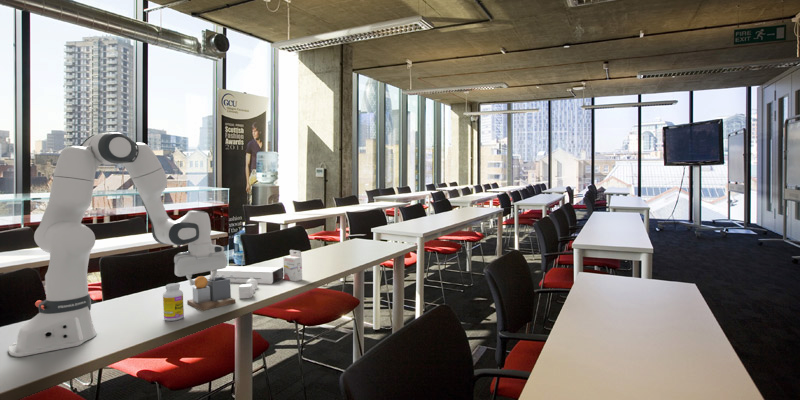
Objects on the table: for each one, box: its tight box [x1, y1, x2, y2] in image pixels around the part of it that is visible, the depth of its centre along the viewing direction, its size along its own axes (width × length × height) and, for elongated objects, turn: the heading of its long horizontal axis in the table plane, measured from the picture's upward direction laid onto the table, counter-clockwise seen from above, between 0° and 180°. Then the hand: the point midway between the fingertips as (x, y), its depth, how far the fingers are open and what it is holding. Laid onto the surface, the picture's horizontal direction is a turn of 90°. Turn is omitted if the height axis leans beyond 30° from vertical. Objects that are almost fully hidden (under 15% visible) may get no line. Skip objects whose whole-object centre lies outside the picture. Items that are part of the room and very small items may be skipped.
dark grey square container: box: [206, 277, 232, 302], centre depth 189 cm, size 7×7×8 cm
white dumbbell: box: [238, 278, 259, 299], centre depth 203 cm, size 20×5×6 cm, turn 9°
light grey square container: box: [192, 286, 211, 304], centre depth 184 cm, size 5×5×6 cm
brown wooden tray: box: [186, 297, 236, 312], centre depth 186 cm, size 14×14×2 cm
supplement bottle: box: [162, 282, 185, 322], centre depth 167 cm, size 7×7×13 cm
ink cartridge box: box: [283, 249, 303, 282], centre depth 226 cm, size 9×5×15 cm, turn 58°
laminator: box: [209, 265, 284, 285], centre depth 228 cm, size 34×12×6 cm, turn 79°
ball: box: [194, 275, 208, 288], centre depth 184 cm, size 5×5×5 cm
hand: (202, 282), depth 184 cm, fingers open, 7 cm apart
